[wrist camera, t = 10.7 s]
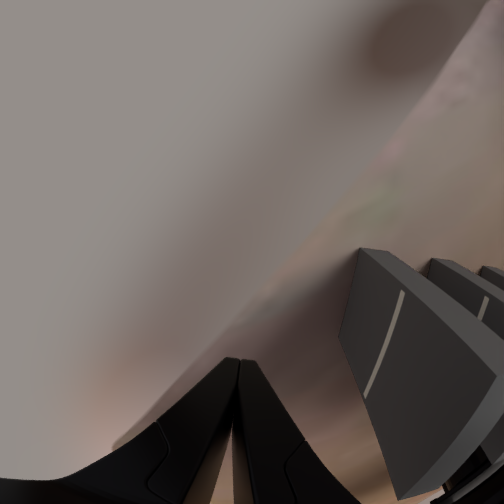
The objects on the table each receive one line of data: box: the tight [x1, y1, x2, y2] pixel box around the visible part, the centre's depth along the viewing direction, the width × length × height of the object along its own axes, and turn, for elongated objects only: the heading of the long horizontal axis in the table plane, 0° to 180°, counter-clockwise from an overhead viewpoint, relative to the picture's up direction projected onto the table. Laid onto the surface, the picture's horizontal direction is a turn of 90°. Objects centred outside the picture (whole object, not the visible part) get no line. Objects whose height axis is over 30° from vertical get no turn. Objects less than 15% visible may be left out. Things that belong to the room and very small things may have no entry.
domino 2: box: [427, 258, 504, 465], centre depth 9 cm, size 5×2×10 cm, turn 174°
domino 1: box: [338, 248, 504, 501], centre depth 9 cm, size 5×2×10 cm, turn 174°
